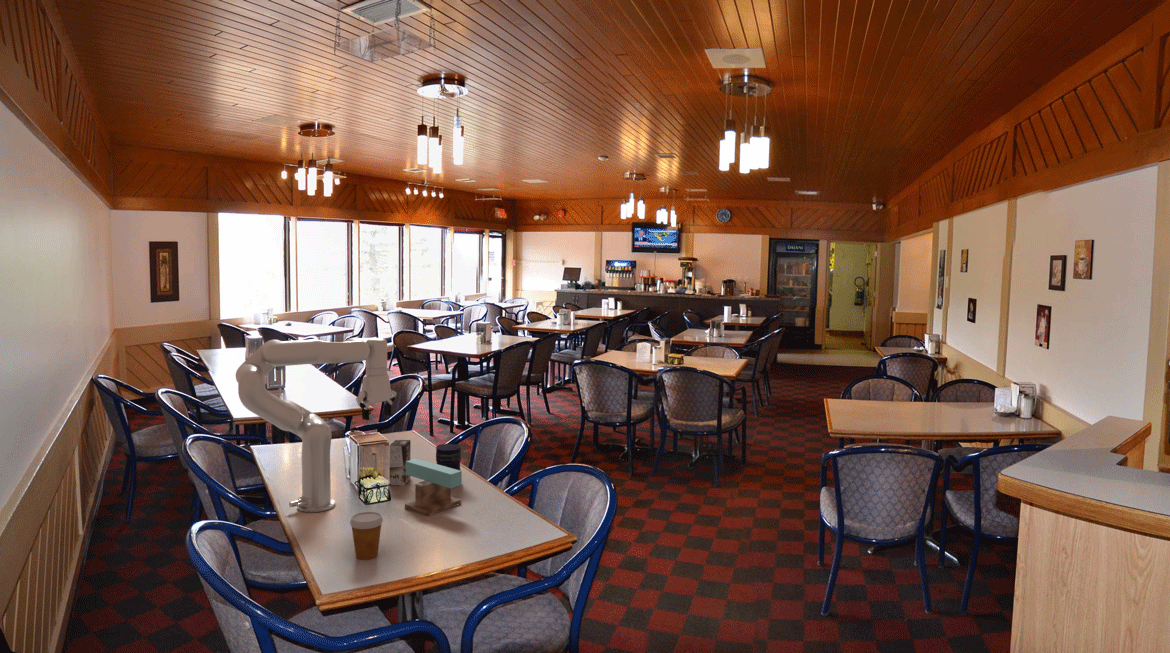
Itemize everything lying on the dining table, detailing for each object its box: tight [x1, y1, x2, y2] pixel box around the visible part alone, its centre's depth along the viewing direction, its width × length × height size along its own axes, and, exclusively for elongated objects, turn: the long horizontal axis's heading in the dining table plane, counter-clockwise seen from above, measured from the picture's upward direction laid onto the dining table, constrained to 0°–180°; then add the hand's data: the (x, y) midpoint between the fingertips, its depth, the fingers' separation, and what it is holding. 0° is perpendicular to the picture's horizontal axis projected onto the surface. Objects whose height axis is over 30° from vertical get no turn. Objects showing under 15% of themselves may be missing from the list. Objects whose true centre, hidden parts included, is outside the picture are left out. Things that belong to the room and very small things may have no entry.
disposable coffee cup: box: [349, 511, 384, 561], centre depth 210 cm, size 10×10×12 cm
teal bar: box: [406, 458, 463, 489], centre depth 253 cm, size 24×5×5 cm, turn 53°
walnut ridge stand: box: [404, 480, 462, 517], centre depth 253 cm, size 16×12×10 cm
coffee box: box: [388, 439, 412, 486], centre depth 279 cm, size 9×6×16 cm
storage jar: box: [435, 443, 462, 471], centre depth 279 cm, size 10×10×15 cm
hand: (376, 417), depth 259 cm, fingers open, 9 cm apart
